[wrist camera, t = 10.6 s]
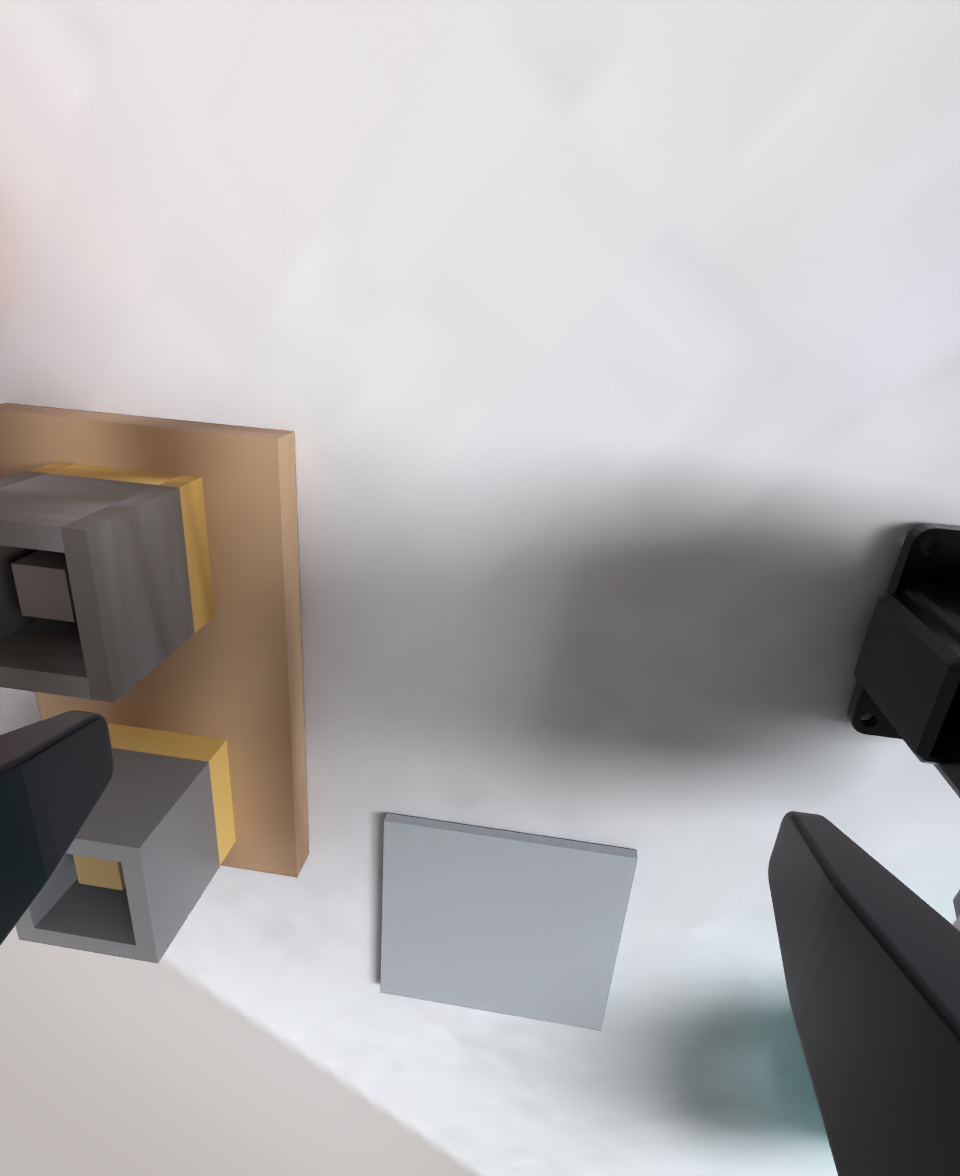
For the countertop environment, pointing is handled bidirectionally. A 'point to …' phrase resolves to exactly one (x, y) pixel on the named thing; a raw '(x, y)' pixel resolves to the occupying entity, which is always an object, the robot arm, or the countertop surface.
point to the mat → (501, 919)
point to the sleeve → (142, 847)
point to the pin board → (162, 598)
